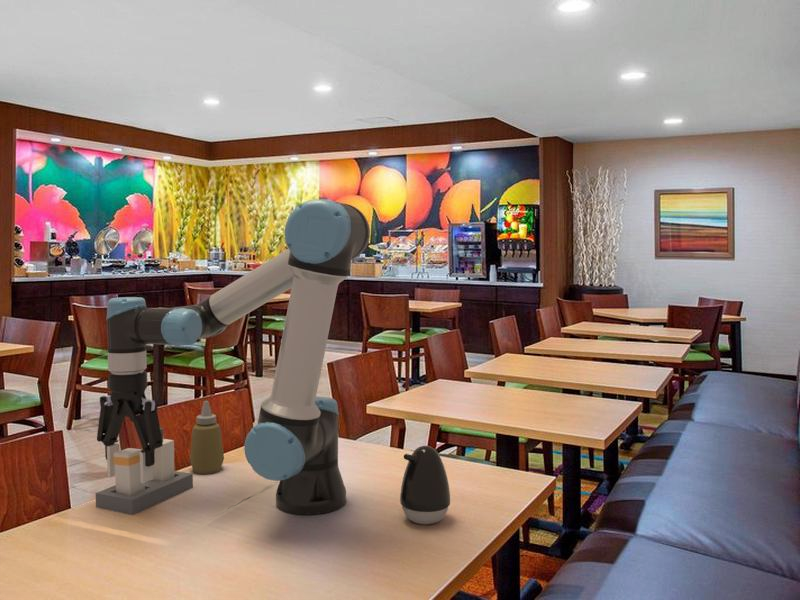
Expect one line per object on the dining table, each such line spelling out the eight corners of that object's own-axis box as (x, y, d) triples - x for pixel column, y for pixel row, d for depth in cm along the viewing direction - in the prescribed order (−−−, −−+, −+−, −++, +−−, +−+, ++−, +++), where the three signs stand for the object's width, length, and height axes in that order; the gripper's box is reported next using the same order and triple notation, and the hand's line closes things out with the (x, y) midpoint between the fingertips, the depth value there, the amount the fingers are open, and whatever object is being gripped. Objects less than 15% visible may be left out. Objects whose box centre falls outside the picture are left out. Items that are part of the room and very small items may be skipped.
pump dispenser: (389, 517, 138) (389, 444, 137) (428, 506, 144) (429, 436, 143) (419, 534, 130) (420, 456, 129) (460, 521, 136) (461, 447, 135)
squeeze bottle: (214, 480, 160) (213, 405, 159) (183, 478, 161) (182, 404, 160) (229, 469, 168) (229, 398, 167) (200, 467, 169) (198, 397, 168)
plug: (131, 506, 139) (128, 454, 139) (116, 504, 141) (113, 453, 140) (146, 500, 143) (143, 449, 143) (131, 498, 145) (128, 447, 144)
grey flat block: (193, 491, 153) (192, 473, 152) (132, 519, 136) (132, 500, 136) (158, 484, 156) (158, 468, 156) (96, 511, 140) (95, 493, 140)
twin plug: (174, 488, 151) (173, 427, 150) (161, 494, 148) (160, 431, 147) (160, 485, 153) (159, 425, 152) (147, 491, 149) (146, 429, 148)
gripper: (180, 372, 139) (182, 479, 141) (104, 365, 148) (106, 466, 149) (153, 378, 133) (156, 490, 134) (75, 370, 141) (78, 476, 142)
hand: (130, 477), depth 142 cm, fingers open, 8 cm apart
